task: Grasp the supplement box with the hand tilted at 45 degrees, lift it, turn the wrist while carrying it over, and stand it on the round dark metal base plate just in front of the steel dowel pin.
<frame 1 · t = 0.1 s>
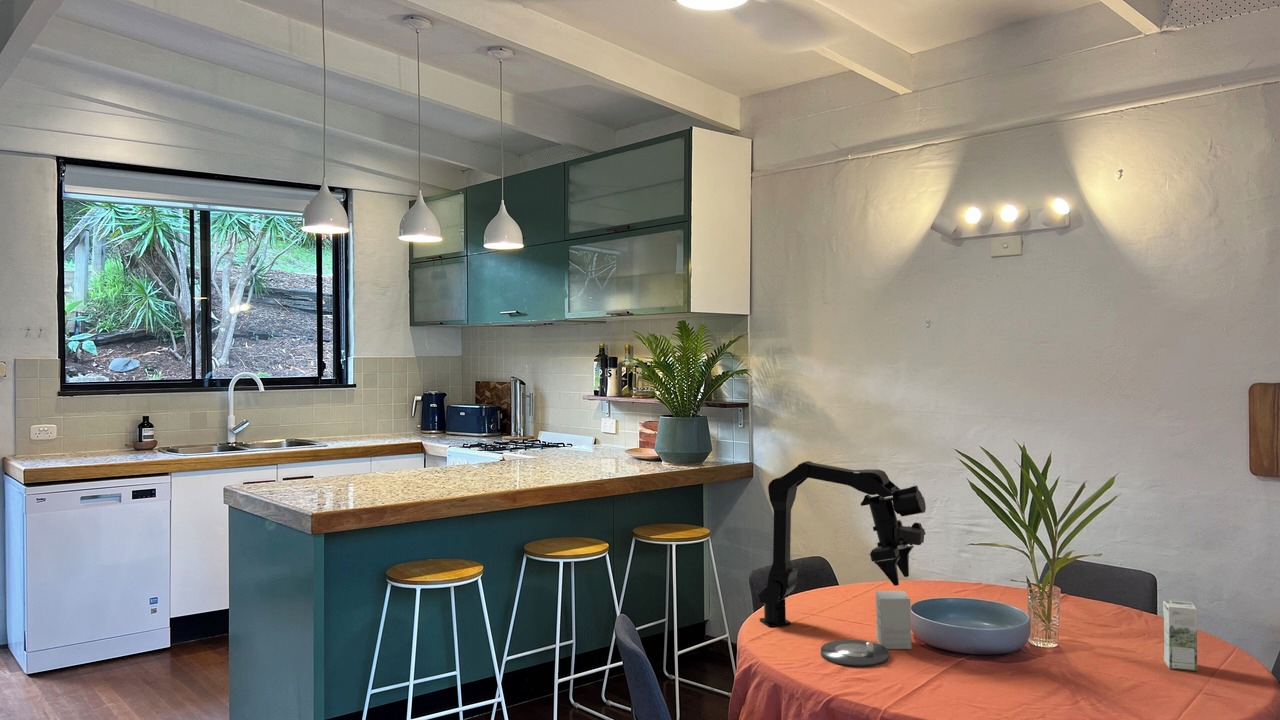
hand: (901, 581, 226), 15 cm above the table, tool pointing down, fingers open, 9 cm apart
base plate: (854, 655, 217), on the table
syrup box: (1180, 667, 205), on the table
supplement box: (893, 645, 224), on the table
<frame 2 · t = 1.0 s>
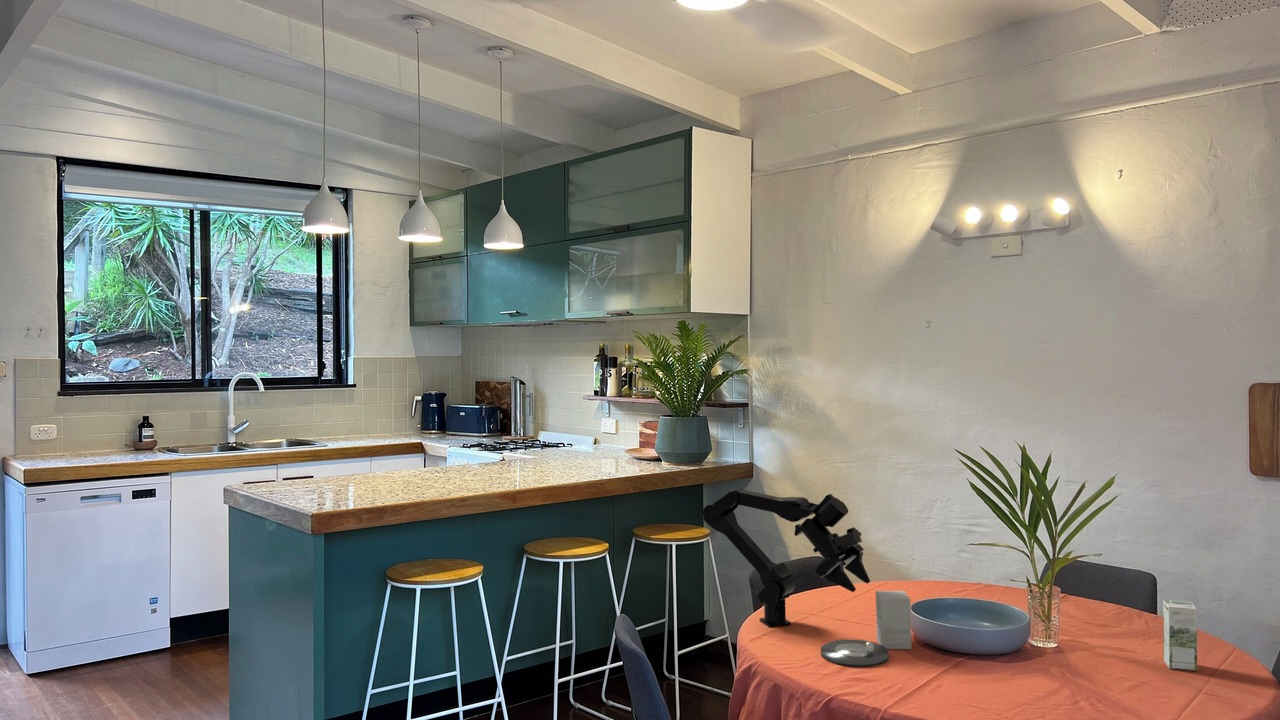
hand: (861, 586, 229), 13 cm above the table, tool tilted 45°, fingers open, 9 cm apart
nothing on the table moved.
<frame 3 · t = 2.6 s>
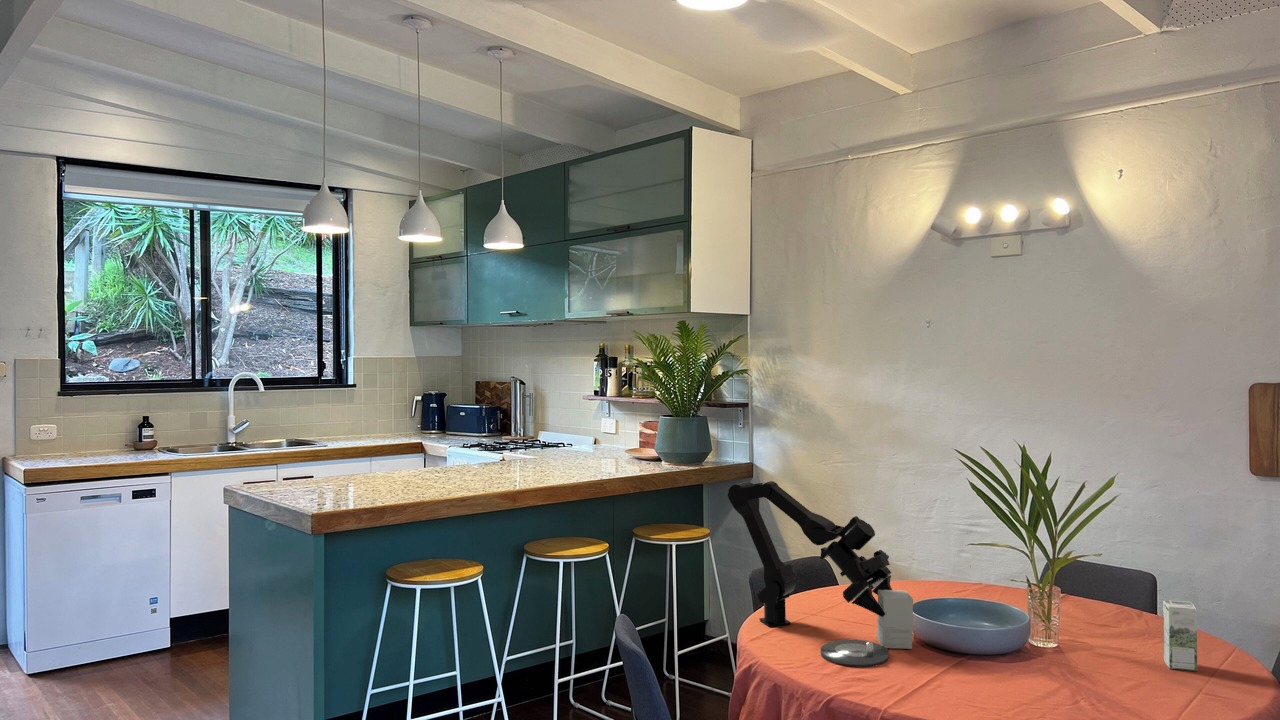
hand: (890, 610, 224), 8 cm above the table, tool tilted 45°, fingers open, 9 cm apart
supplement box: (894, 644, 224), on the table, touching gripper
everything else where it was.
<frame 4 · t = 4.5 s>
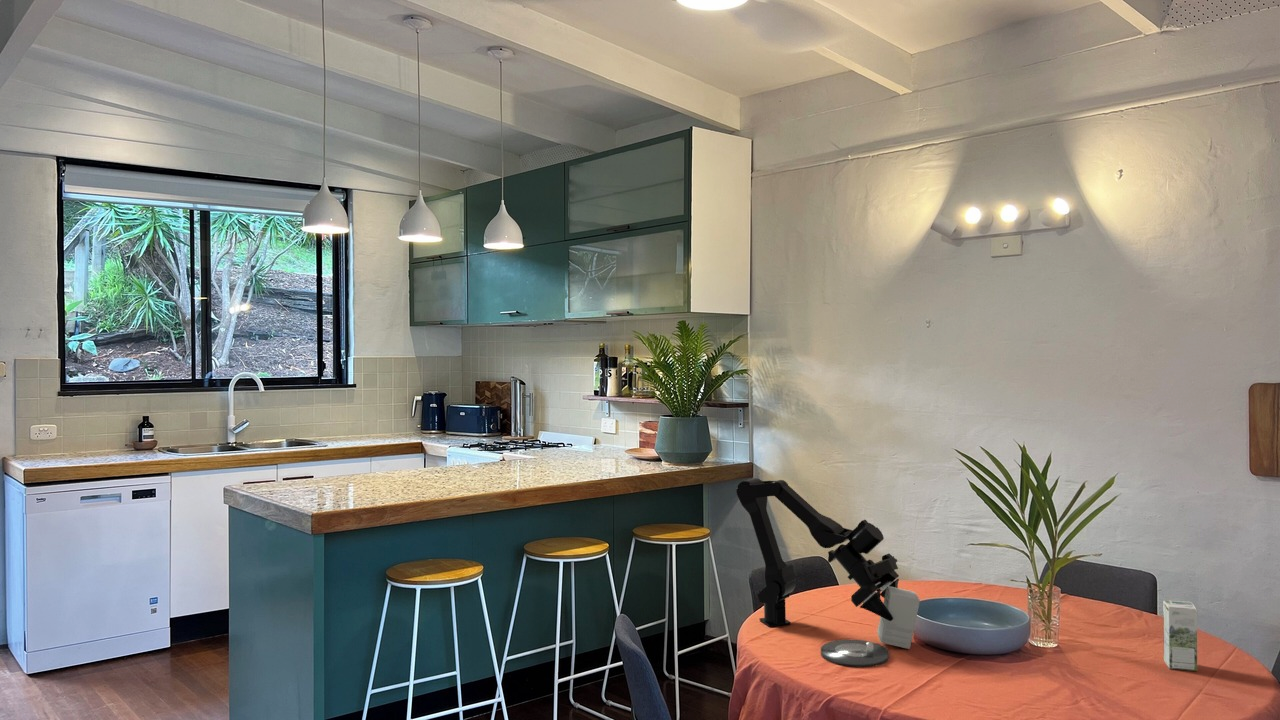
hand: (898, 615, 223), 8 cm above the table, tool tilted 45°, fingers closed on supplement box, 9 cm apart
supplement box: (892, 642, 224), point 1 cm above the table, touching gripper
everything else where it was.
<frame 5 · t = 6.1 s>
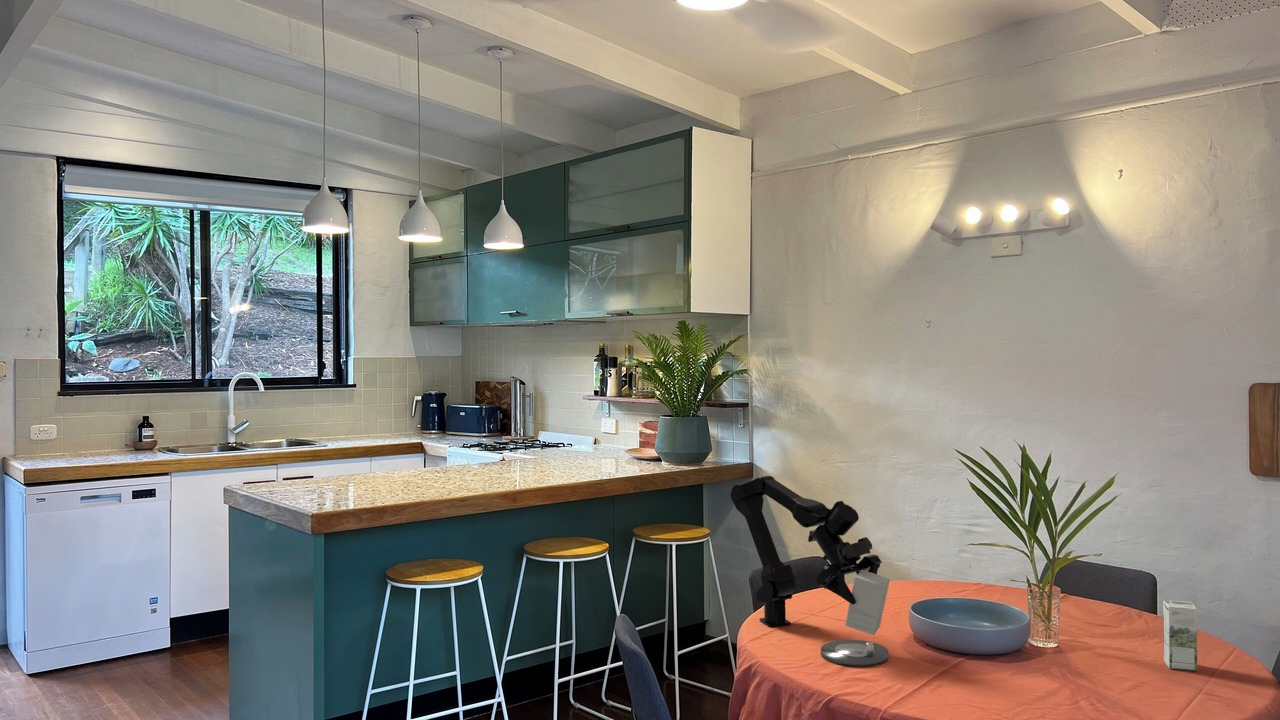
hand: (867, 600, 218), 13 cm above the table, tool tilted 45°, fingers closed on supplement box, 9 cm apart
supplement box: (862, 627, 219), point 6 cm above the table, touching gripper
everything else where it was.
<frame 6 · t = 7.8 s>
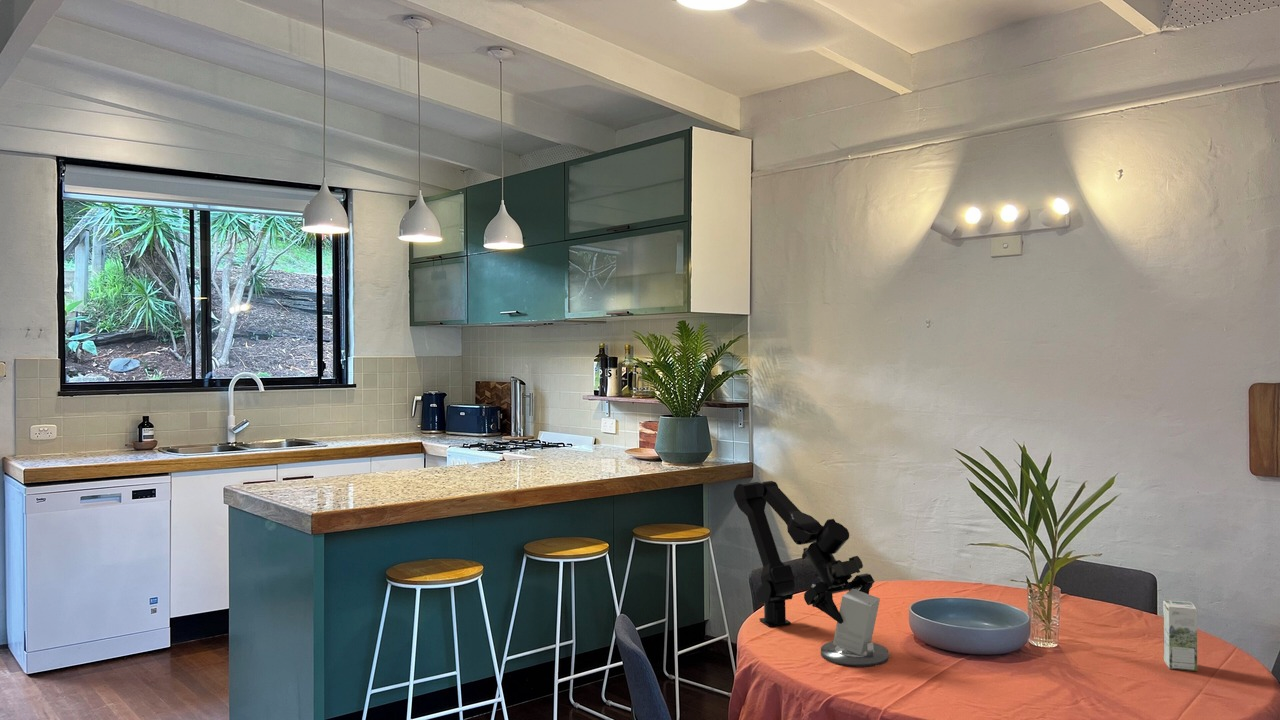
hand: (856, 619, 216), 9 cm above the table, tool tilted 45°, fingers closed on supplement box, 9 cm apart
supplement box: (851, 646, 218), point 2 cm above the table, touching base plate, gripper
everything else where it was.
when the fingers open (9 cm above the table, at t = 9.1 s): supplement box stays where it is, point 2 cm above the table.
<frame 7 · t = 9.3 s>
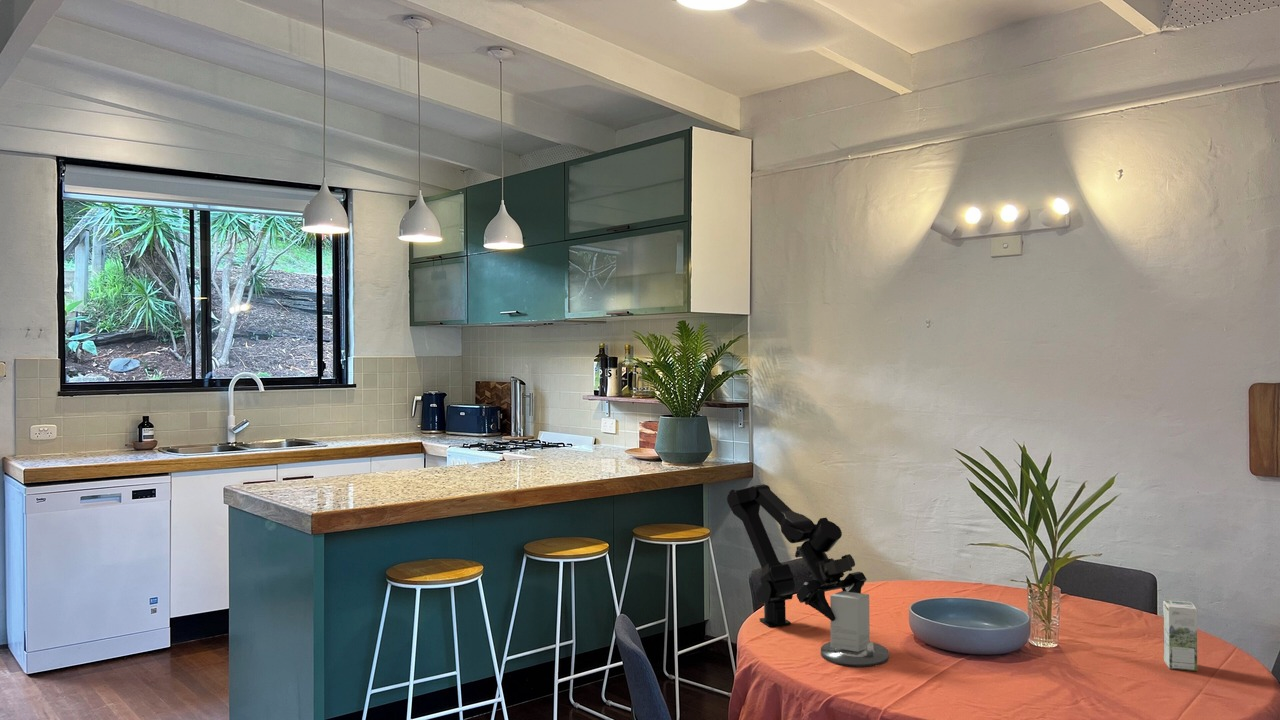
hand: (848, 617, 219), 9 cm above the table, tool tilted 45°, fingers open, 9 cm apart
supplement box: (850, 648, 218), point 2 cm above the table, touching gripper
everything else where it was.
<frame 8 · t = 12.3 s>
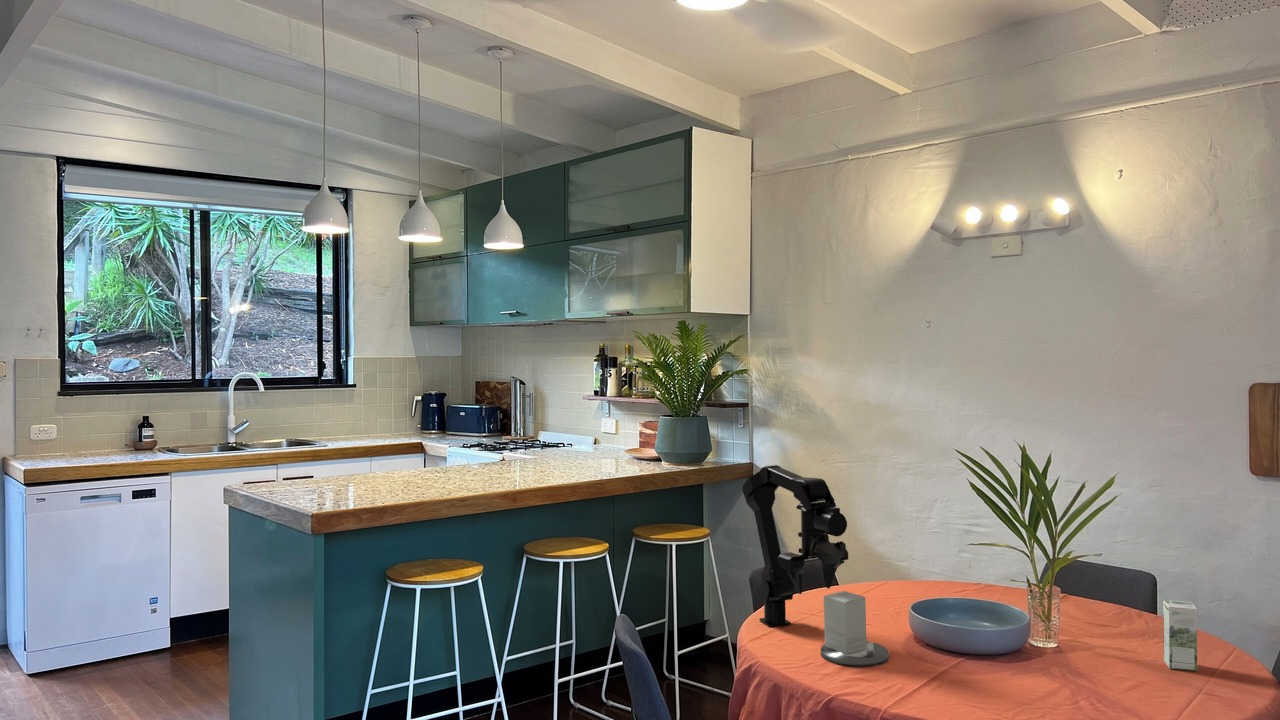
hand: (814, 590, 227), 13 cm above the table, tool pointing down, fingers open, 9 cm apart
supplement box: (845, 648, 219), point 1 cm above the table, touching base plate
everything else where it was.
at the end: supplement box 2.4 cm off-centre on the base plate, point 1.1 cm above the base plate's base; supplement box tilted 0°; the gripper is holding nothing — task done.
